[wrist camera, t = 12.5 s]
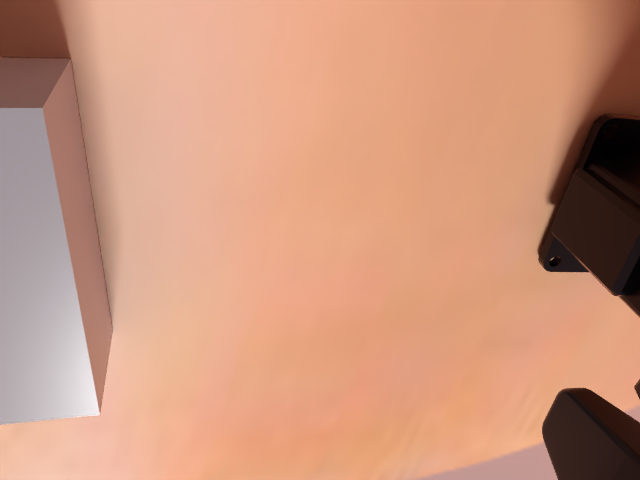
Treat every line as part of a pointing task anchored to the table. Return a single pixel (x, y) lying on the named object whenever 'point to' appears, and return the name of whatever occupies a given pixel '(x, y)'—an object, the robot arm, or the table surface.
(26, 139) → the grey square block
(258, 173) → the table surface
